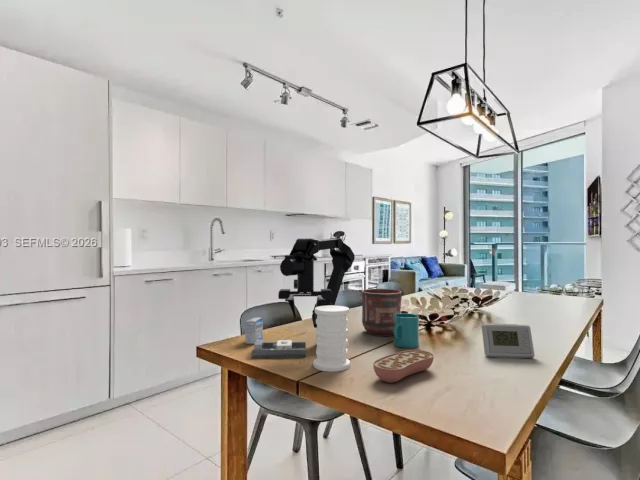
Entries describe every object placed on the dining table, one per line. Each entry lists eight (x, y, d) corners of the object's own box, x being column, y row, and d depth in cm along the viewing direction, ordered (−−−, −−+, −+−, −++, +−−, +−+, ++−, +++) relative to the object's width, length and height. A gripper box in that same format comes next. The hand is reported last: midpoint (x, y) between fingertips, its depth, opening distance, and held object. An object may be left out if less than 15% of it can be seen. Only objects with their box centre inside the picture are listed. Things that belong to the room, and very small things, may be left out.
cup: (384, 346, 139) (384, 316, 139) (403, 340, 147) (403, 312, 147) (405, 351, 133) (405, 320, 133) (423, 345, 141) (423, 315, 141)
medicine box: (255, 344, 142) (255, 321, 142) (244, 343, 143) (244, 321, 143) (263, 339, 149) (263, 317, 149) (252, 338, 150) (252, 317, 150)
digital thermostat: (483, 357, 126) (483, 326, 126) (480, 350, 135) (480, 320, 135) (537, 362, 121) (537, 329, 121) (531, 354, 130) (530, 323, 130)
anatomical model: (392, 390, 98) (392, 371, 98) (364, 380, 105) (364, 362, 105) (439, 371, 113) (439, 354, 113) (411, 363, 121) (411, 347, 121)
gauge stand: (305, 348, 136) (305, 337, 136) (305, 356, 126) (306, 345, 126) (255, 349, 135) (255, 338, 135) (252, 357, 125) (252, 345, 125)
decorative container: (314, 359, 123) (314, 305, 124) (349, 359, 123) (349, 305, 123) (312, 371, 112) (312, 311, 112) (351, 372, 111) (351, 311, 112)
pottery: (411, 333, 158) (411, 291, 158) (381, 339, 148) (380, 294, 149) (382, 326, 173) (381, 287, 173) (352, 331, 163) (352, 290, 163)
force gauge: (291, 346, 134) (291, 339, 134) (291, 353, 126) (291, 346, 126) (273, 346, 134) (273, 339, 134) (271, 353, 125) (271, 346, 125)
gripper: (330, 272, 140) (330, 313, 140) (280, 272, 139) (280, 314, 139) (332, 274, 129) (332, 320, 128) (278, 274, 128) (278, 320, 128)
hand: (305, 318), depth 131 cm, fingers open, 7 cm apart
